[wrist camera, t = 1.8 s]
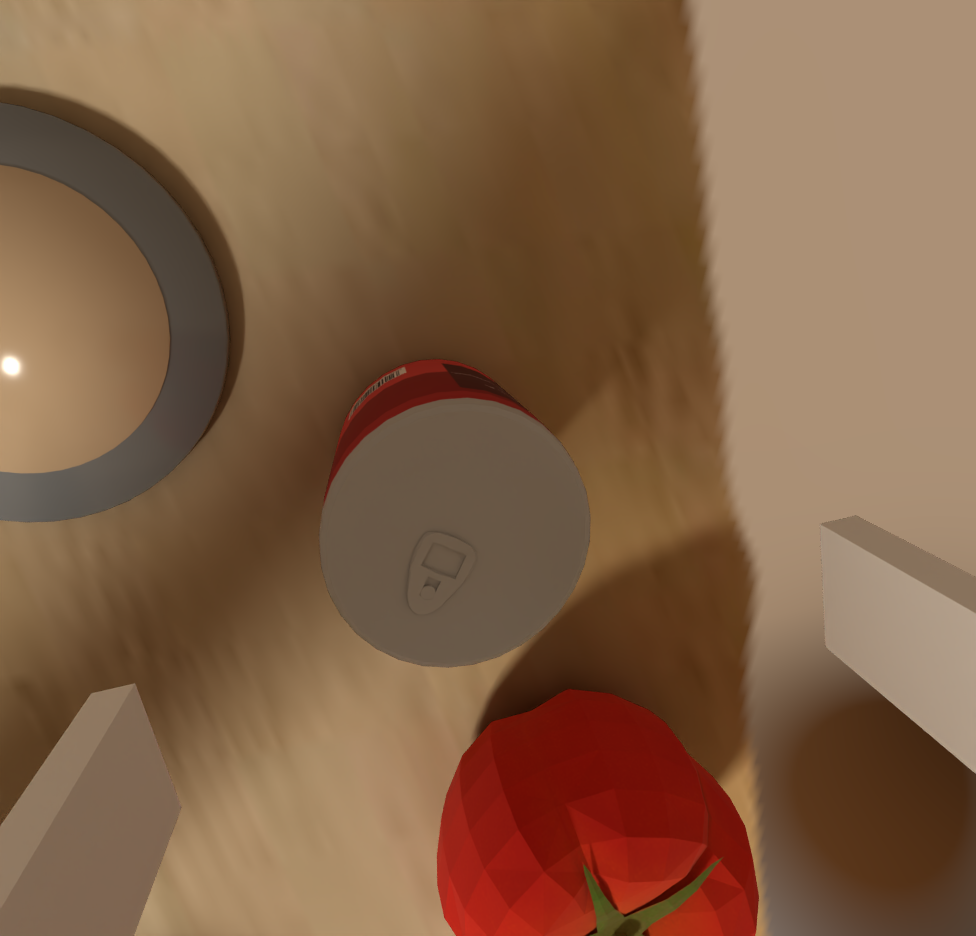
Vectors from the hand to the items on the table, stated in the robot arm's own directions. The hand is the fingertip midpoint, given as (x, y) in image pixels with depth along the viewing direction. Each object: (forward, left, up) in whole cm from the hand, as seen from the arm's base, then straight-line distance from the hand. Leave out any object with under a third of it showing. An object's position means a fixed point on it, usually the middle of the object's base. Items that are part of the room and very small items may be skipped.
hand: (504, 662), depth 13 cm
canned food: (0, 0, -18) cm, 18 cm away
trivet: (-14, +8, -18) cm, 24 cm away
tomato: (+3, -18, -18) cm, 25 cm away
